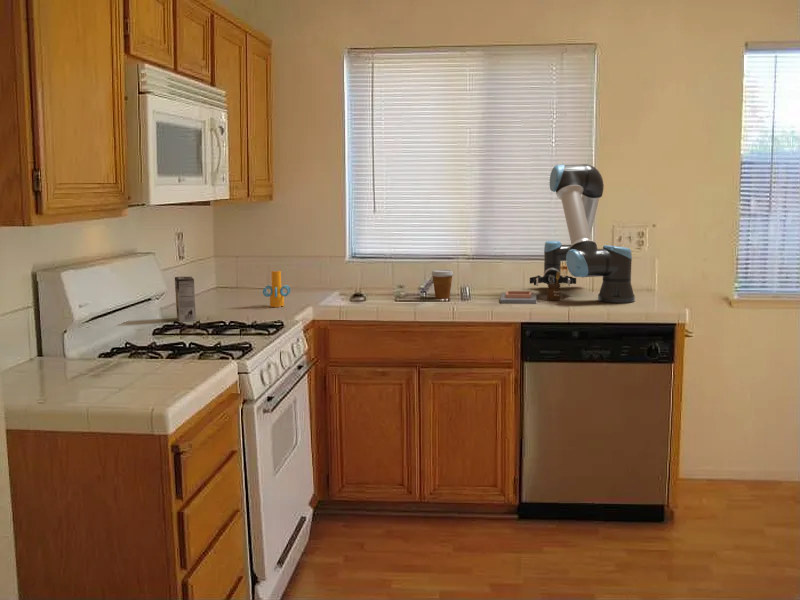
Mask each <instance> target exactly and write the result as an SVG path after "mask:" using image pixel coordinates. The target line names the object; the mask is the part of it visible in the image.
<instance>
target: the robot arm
mask: <svg viewBox="0 0 800 600" xmlns="http://www.w3.org/2000/svg"><path fill="white" fill-rule="evenodd" d="M604 186H605V185H604V180H603V176H602V174H601V173H600V171H599V170H598V169H597V168H596V167H595V166H593V165H591V164H588V163H587V164H584V163H583V164H564V163H563V164H556V165H554V166H553V168H552V169H551V172H550V175H549V189H550V191H551V192H552V193H556V196H557V198H558V199H560V200H561V204H562V208H563V212H564V216H565V221H566V226H567V230H568V236H569V239H570V240H569V241H570V244H562V242H561V241H560V240H547V241H545V242H544V250H543V253H544V256H543V257H544V259H543V260H544V261H543V262H544V263H543V276H541V275H539V274H538V275H536V276H531V277H529V284H530V285H531V284H533V286H536V287H538V286H539V284H542V283H543V284H547V286H548V284H549V283H551V282H552V283H556V282H557V279H556V275H557V276H558V277H559V275H558V274H557V272H560V273H561V265H562V264H561V262H565V263H566V264H565V265H566V266H567V267H566V268H567V270H568V272H569V273H570V275H571V276H569V275H565V276H563V275H561V274H560V277H559V279H558V282H557V283H558V284H567V286H568V287H570V286H571V285H572V284H573V285H577V278H592V277H593V278H594V277H595V278H596V277H598V278H599V277H602V283H601V287H600V290H599V293H598V294H597V301H599V302H602V303H612V304H613V303H614V304H623V303H624V304H627V303H633V302H635V300H636V298H635V297H636V296H635V293H634V289H633V286H632V263H633V262H632V261H633V258H632V250H631V249H630V248H629V247H625V246H616V245H609V244H605V245H603V247H602V248H598V246H597V243H596V241H594V240H592V236H591V235H592V230H593V227H594V222H595V221H594V220H595V217H596V215H597V213H596V212H597V209H598V204H599V200H600V198H602V197H603V194H604V190H605V189H604V188H605V187H604ZM550 275H551V276H550ZM553 278H554V279H553Z"/></svg>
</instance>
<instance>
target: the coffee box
mask: <svg viewBox="0 0 800 600" xmlns="http://www.w3.org/2000/svg"><path fill="white" fill-rule="evenodd" d="M174 285H175V287H174V288H175V291H174V292H175V306H176V318H177V319H178V321H179V322H191V321H192V322H193V321H194V322H195V321H197V318H196V317H197V316H196V313H197V312H196V293H195V292H196V290H195V279H194V278H193V277H192V276H174Z"/></svg>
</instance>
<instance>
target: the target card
mask: <svg viewBox="0 0 800 600" xmlns="http://www.w3.org/2000/svg"><path fill="white" fill-rule="evenodd" d="M499 303H500V304H527V305H529V304H534V305H535V304H537V292H532V291H531V290H529V291H528V290H506V292H501V295H500V299H499Z"/></svg>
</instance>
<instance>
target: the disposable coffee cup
mask: <svg viewBox="0 0 800 600" xmlns="http://www.w3.org/2000/svg"><path fill="white" fill-rule="evenodd" d="M431 275H432V281H433V288H434V289H433V290H434V297H435V299H438V300H446V299H450V297H451V289H452V283H453V282H452V280H453V276H454V273H453V270H451V269H435V270H432V273H431Z"/></svg>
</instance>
